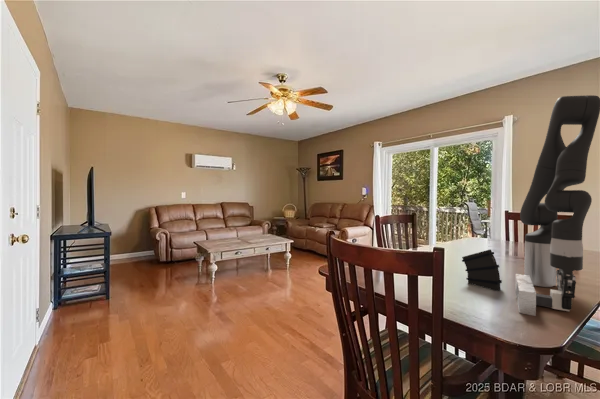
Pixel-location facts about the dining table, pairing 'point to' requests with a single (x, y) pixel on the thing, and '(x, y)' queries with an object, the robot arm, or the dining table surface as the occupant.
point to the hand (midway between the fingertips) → (565, 306)
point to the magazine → (483, 270)
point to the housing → (525, 294)
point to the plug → (550, 300)
